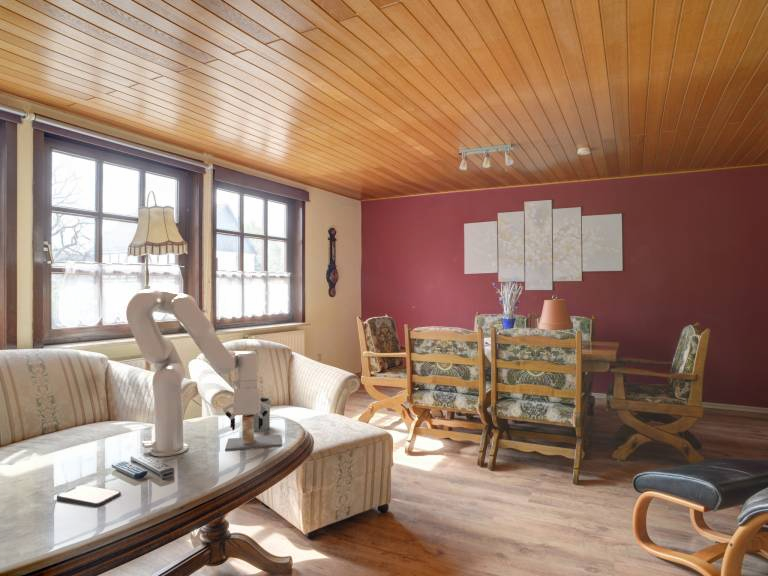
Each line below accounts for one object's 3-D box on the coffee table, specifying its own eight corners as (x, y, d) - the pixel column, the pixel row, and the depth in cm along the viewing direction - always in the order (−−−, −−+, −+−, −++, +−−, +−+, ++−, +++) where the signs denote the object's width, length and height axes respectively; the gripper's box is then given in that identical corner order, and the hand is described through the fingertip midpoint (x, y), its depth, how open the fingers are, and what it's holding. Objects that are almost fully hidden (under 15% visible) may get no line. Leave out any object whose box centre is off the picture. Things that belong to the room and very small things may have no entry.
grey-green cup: (253, 433, 202) (253, 404, 202) (242, 428, 210) (241, 399, 210) (275, 428, 209) (275, 399, 209) (263, 423, 217) (263, 395, 216)
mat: (225, 450, 182) (225, 448, 182) (228, 440, 194) (228, 438, 193) (281, 446, 186) (281, 444, 186) (280, 436, 198) (280, 434, 198)
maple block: (242, 443, 187) (242, 417, 187) (243, 440, 191) (242, 414, 191) (253, 443, 188) (253, 416, 188) (254, 439, 192) (253, 413, 191)
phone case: (123, 496, 146) (81, 489, 151) (123, 491, 146) (81, 483, 151) (97, 510, 137) (54, 501, 142) (97, 504, 137) (54, 496, 142)
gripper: (222, 386, 183) (221, 432, 184) (270, 385, 187) (269, 430, 187) (224, 382, 191) (223, 427, 191) (270, 381, 194) (270, 424, 195)
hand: (246, 428), depth 189 cm, fingers open, 9 cm apart
